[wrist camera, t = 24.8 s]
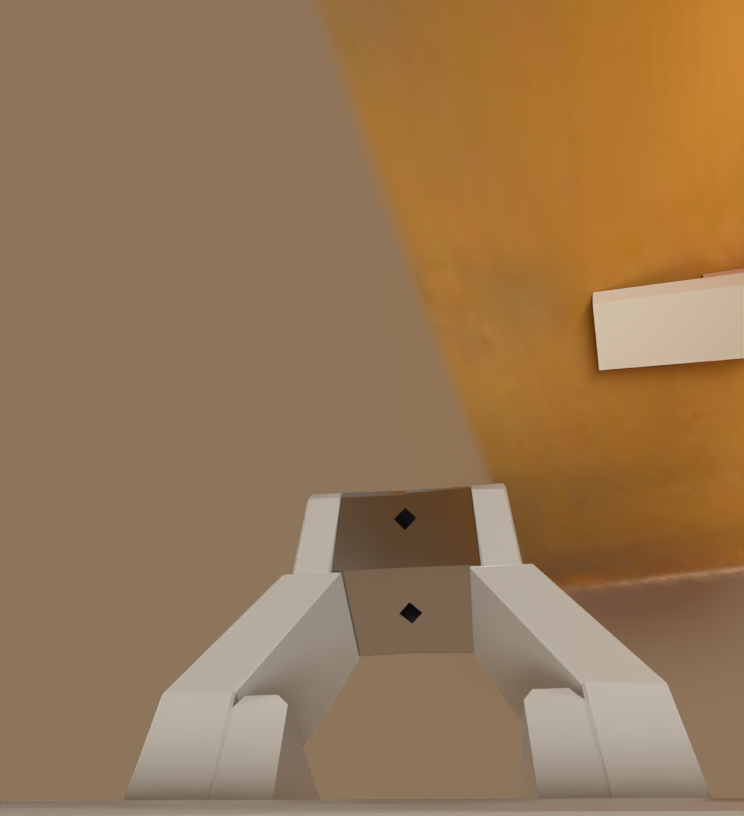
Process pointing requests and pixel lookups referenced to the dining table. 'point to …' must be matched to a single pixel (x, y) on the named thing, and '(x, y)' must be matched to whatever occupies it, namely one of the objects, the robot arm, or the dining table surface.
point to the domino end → (670, 322)
